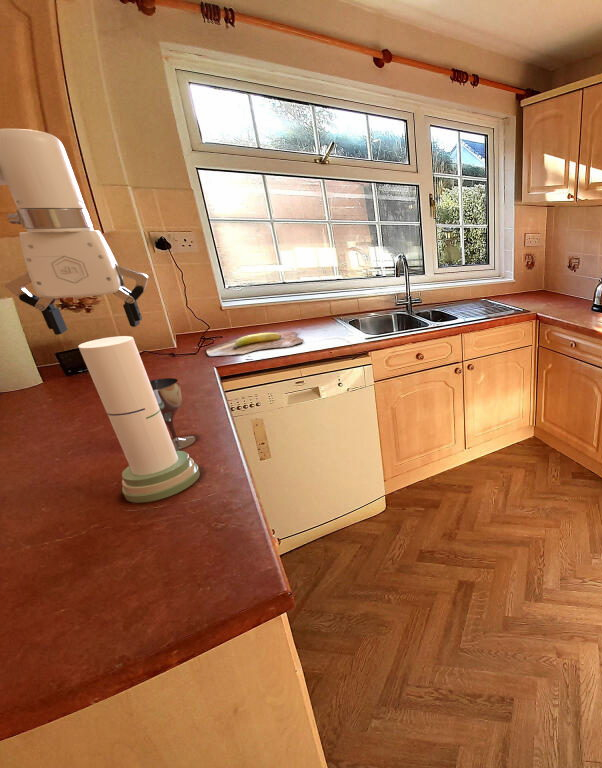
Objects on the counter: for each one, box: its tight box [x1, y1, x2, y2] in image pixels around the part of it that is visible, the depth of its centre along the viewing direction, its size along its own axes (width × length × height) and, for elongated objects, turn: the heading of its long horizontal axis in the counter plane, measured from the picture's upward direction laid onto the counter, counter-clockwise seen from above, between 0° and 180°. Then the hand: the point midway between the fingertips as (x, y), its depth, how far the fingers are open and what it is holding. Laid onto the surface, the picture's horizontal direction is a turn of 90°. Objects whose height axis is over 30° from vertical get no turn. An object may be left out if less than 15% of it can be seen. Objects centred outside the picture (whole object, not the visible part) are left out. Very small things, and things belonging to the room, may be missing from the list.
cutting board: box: [205, 331, 305, 357], centre depth 174 cm, size 35×27×4 cm
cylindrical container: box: [77, 335, 178, 475], centre depth 78 cm, size 7×7×25 cm
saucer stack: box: [121, 450, 201, 504], centre depth 83 cm, size 12×12×4 cm
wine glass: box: [149, 377, 197, 451], centre depth 96 cm, size 8×8×15 cm
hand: (99, 328), depth 72 cm, fingers open, 9 cm apart
